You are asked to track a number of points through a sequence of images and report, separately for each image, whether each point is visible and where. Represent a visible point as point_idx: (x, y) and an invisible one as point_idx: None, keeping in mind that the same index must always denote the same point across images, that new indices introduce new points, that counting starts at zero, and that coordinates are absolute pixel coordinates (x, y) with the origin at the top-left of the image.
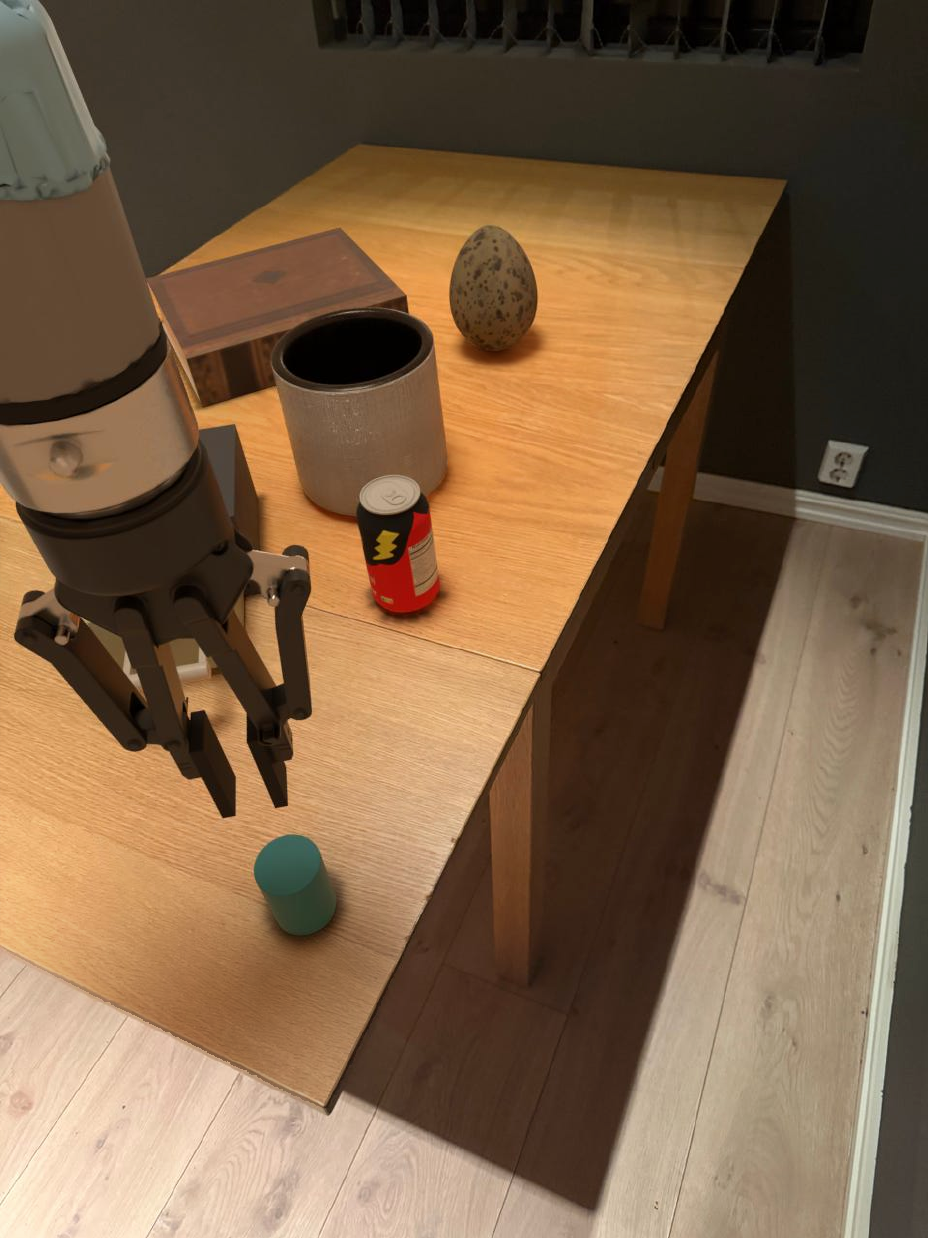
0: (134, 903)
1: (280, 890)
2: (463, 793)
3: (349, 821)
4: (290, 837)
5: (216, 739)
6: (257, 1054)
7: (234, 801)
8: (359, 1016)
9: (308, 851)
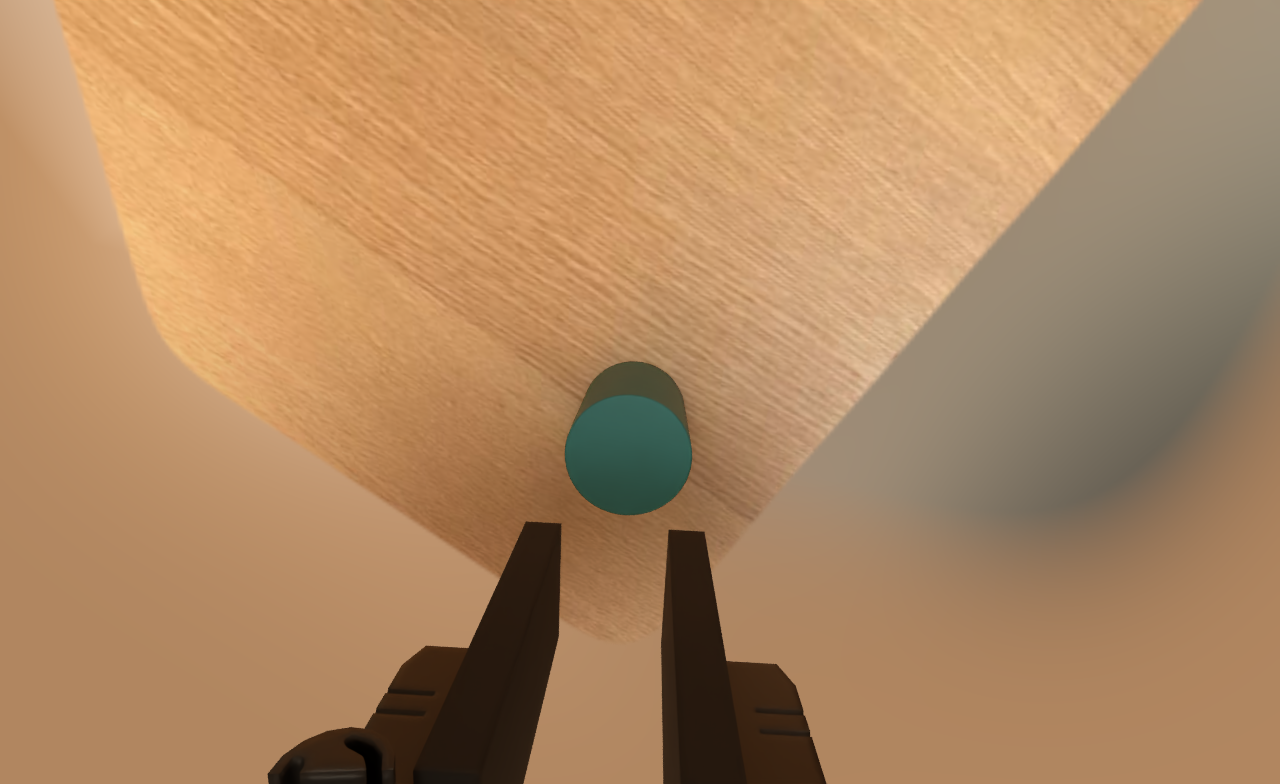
0: (352, 331)
1: (611, 503)
2: (944, 272)
3: (728, 273)
4: (639, 402)
5: (521, 662)
6: None
7: (557, 610)
8: None
9: (671, 443)
